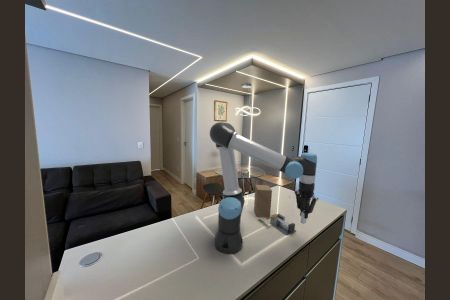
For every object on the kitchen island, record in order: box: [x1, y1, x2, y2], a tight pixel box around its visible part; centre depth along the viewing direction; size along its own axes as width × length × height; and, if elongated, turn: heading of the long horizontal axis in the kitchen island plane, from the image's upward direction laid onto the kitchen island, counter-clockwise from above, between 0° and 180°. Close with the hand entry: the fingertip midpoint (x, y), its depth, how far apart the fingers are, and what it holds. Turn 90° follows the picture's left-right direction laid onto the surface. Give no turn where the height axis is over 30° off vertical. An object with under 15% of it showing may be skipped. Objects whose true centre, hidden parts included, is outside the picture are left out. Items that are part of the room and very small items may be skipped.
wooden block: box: [253, 184, 273, 218], centre depth 120 cm, size 10×10×20 cm
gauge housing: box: [256, 213, 297, 236], centre depth 106 cm, size 14×20×5 cm
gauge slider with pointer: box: [265, 213, 296, 234], centre depth 103 cm, size 11×15×5 cm
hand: (303, 222), depth 92 cm, fingers closed
